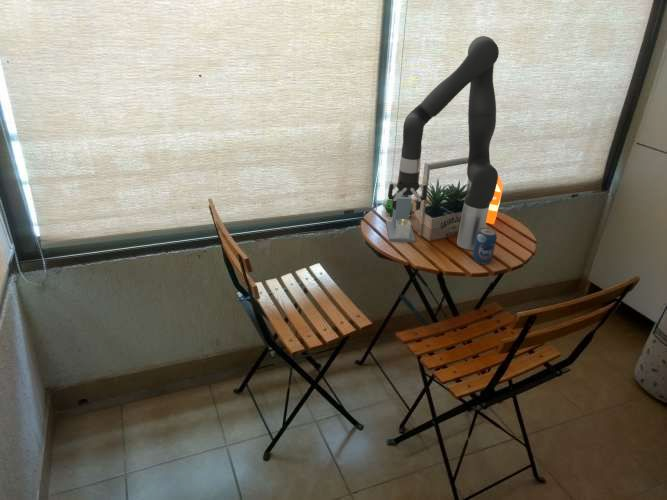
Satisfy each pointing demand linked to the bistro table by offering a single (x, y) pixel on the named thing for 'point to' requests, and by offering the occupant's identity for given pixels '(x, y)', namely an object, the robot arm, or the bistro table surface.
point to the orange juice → (495, 203)
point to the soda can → (484, 245)
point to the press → (400, 212)
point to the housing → (402, 228)
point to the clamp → (390, 209)
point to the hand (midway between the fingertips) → (405, 209)
